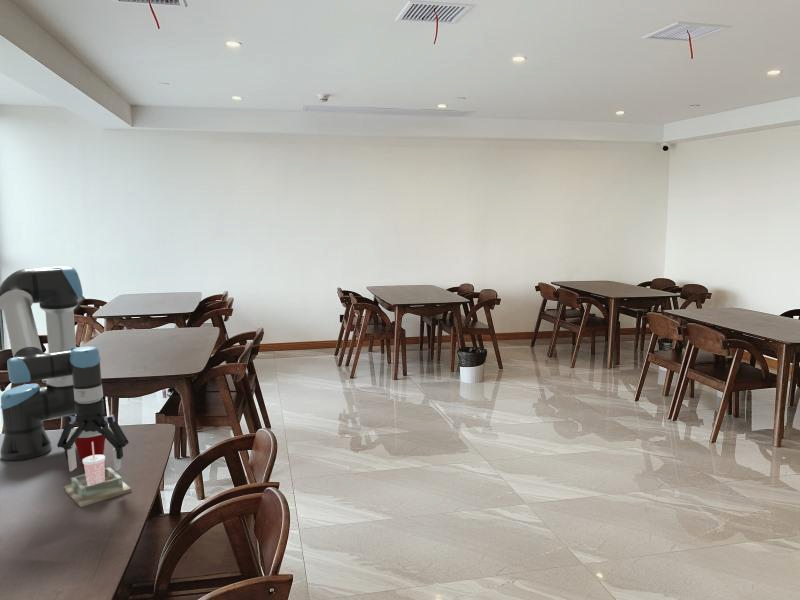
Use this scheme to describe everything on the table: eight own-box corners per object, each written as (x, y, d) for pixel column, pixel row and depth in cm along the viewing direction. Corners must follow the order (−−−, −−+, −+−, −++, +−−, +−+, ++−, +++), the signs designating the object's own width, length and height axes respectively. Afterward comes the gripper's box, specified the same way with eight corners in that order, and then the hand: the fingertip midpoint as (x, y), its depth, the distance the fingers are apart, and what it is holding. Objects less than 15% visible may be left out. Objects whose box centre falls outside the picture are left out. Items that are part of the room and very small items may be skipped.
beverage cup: (86, 493, 179) (82, 447, 178) (83, 486, 184) (79, 441, 183) (109, 488, 183) (105, 442, 181) (106, 481, 188) (102, 437, 186)
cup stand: (64, 489, 185) (62, 476, 184) (112, 475, 194) (111, 463, 194) (80, 507, 173) (79, 493, 172) (131, 491, 182) (130, 478, 182)
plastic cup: (117, 459, 207) (114, 425, 205) (98, 472, 196) (95, 436, 195) (87, 458, 208) (83, 424, 206) (67, 472, 197) (63, 436, 196)
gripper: (39, 404, 176) (46, 474, 179) (124, 403, 175) (130, 474, 178) (54, 396, 184) (61, 464, 187) (136, 395, 183) (142, 463, 186)
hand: (95, 469), depth 183 cm, fingers open, 13 cm apart
